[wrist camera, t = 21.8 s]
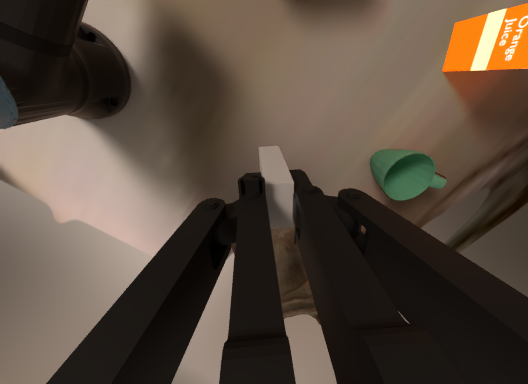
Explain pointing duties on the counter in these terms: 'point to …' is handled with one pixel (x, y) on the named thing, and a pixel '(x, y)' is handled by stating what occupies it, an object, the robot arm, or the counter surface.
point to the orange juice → (490, 42)
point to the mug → (405, 173)
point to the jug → (291, 275)
